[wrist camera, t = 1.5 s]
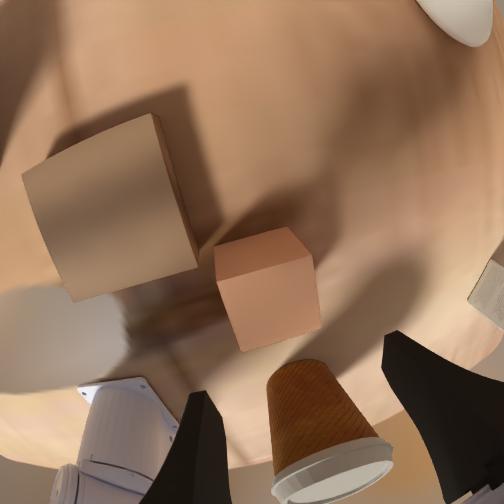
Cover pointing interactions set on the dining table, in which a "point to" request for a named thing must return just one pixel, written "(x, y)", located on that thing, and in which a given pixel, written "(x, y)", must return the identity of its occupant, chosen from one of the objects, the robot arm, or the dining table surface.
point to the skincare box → (490, 294)
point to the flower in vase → (462, 19)
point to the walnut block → (112, 210)
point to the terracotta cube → (267, 288)
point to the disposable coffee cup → (320, 438)
